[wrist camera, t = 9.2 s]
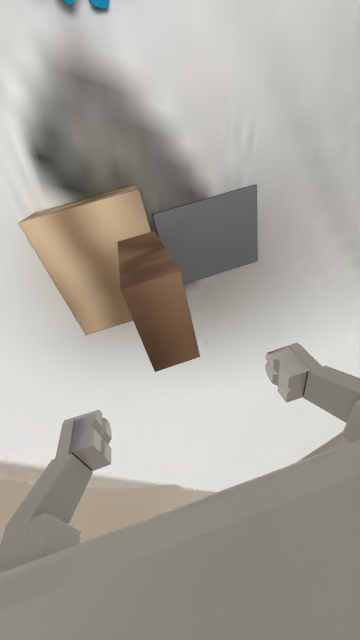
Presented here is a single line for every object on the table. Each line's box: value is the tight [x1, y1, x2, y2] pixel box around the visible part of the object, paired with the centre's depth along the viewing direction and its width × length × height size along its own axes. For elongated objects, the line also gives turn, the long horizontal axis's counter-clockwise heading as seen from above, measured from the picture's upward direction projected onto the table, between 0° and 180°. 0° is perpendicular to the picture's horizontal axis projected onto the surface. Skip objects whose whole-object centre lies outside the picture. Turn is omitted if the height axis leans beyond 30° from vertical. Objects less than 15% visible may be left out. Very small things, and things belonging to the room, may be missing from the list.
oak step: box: [18, 185, 151, 335], centre depth 24 cm, size 10×12×5 cm
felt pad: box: [152, 185, 258, 284], centre depth 28 cm, size 12×9×1 cm
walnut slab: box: [117, 231, 200, 372], centre depth 19 cm, size 4×7×10 cm, turn 13°
